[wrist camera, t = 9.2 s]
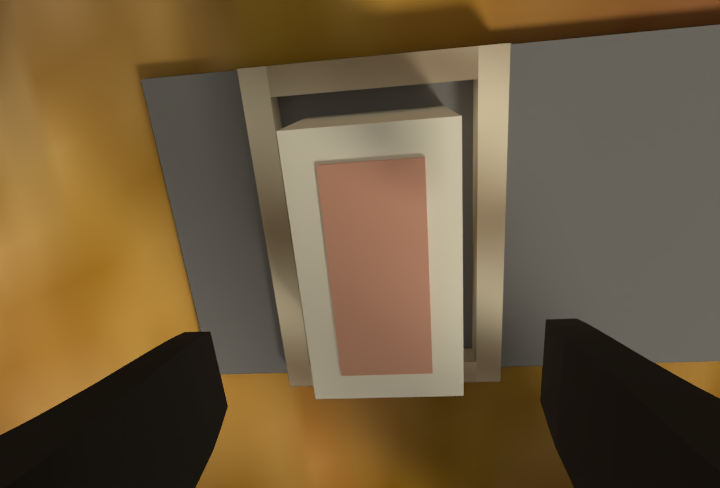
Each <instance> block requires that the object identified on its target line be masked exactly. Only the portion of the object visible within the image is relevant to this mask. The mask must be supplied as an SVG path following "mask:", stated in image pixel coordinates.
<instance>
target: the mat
mask: <svg viewBox="0 0 720 488" xmlns="http://www.w3.org/2000/svg"><path fill="white" fill-rule="evenodd" d="M141 83H142V87H143V91H144V95H145V100H146V104H147V108H148V112H149V116H150V120H151V125H152V129H153V133H154V137H155V141H156V146H157V150H158V154H159V158H160V162H161V166H162V171H163V175H164V179H165V183H166V187H167V192H168V196H169V200H170V204H171V208H172V213H173V217H174V221H175V225H176V229H177V233H178V238H179V242H180V246H181V250H182V254H183V259H184V263H185V267H186V271H187V275H188V279H189V284H190V288H191V292H192V296H193V300H194V305H195V309H196V313H197V317H198V321H199V325H200V330H201V332H208V331H210V332H211V336H212V340H213V345H214V349H215V353H216V358H217V362H218V366H219V371H220V374H251V373H288V371H287V365H286V359H285V353H284V347H283V341H282V335H281V329H280V323H279V317H278V311H277V305H276V299H275V293H274V287H273V281H272V275H271V269H270V263H269V257H268V251H267V245H266V239H265V233H264V227H263V221H262V215H261V209H260V203H259V197H258V191H257V185H256V179H255V173H254V168H253V162H252V156H251V150H250V144H249V138H248V132H247V126H246V120H245V114H244V108H243V102H242V96H241V90H240V84H239V78H238V72H237V70H234V71H224V72H213V73H203V74H192V75H182V76H171V77H161V78H150V79H141ZM278 103H279V110H280V117H281V124H282V128H284V127H286V126H289V125H291V124H293V123H295V122H298V121H300V120H302V119H304V118H307V117H319V116H330V115H342V114H354V113H366V112H378V111H390V110H401V109H413V108H425V107H437V106H445V107H447V108H449V109H450V110H452V111H454V112H456V113H458V114H459V115H461V116H462V213H463V349H464V348H472V280H473V80H462V81H450V82H439V83H428V84H416V85H405V86H394V87H382V88H371V89H359V90H348V91H337V92H325V93H314V94H303V95H291V96H280V97H278ZM571 318H577V319H579V320H581V321H583V322H585V323H587V324H589V325H591V326H593V327H594V328H596V329H598V330H600V331H601V332H603V333H605V334H606V335H608V336H610V337H611V338H613V339H615V340H616V341H618V342H620V343H621V344H623V345H625V346H627V347H628V348H630V349H632V350H633V351H635V352H637V353H638V354H640V355H642V356H643V357H645V358H647V359H648V360H650V361H652V362H654V363H663V362H700V361H720V24H719V25H709V26H698V27H688V28H677V29H667V30H656V31H646V32H635V33H625V34H614V35H604V36H593V37H582V38H572V39H561V40H551V41H540V42H530V43H519V44H511V46H510V80H509V113H508V146H507V180H506V213H505V246H504V280H503V313H502V346H501V367H513V366H543V353H544V338H545V324H546V319H571Z"/></svg>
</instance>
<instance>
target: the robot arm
mask: <svg viewBox="0 0 720 488" xmlns="http://www.w3.org/2000/svg"><path fill="white" fill-rule="evenodd" d="M540 401H541V405H542V408H543V411H544V414H545V417H546V420H547V424H548V427H549V430H550V433H551V436H552V438H553V441H554V444H555V447H556V449H557V451H558V454H559V456H560V458H561V460H562V462H563V465H564V467H565V469H566V471H567V473H568V475H569V477H570V479H571V482H572V484H573V486H574V488H720V399H719V398H717V397H715V396H713V395H712V394H710V393H708V392H706V391H704V390H702V389H700V388H698V387H696V386H694V385H693V384H691V383H689V382H687V381H685V380H684V379H682V378H680V377H678V376H676V375H675V374H673V373H671V372H669V371H668V370H666V369H664V368H662V367H661V366H659V365H657V364H655V363H654V362H652V361H650V360H648V359H647V358H645V357H643V356H642V355H640V354H638V353H637V352H635V351H633V350H632V349H630V348H628V347H627V346H625V345H623V344H621V343H620V342H618V341H616V340H615V339H613V338H611V337H610V336H608V335H606V334H605V333H603V332H601V331H600V330H598V329H596V328H594V327H593V326H591V325H589V324H587V323H585V322H583V321H581V320H579V319H577V318H571V319H546V324H545V338H544V353H543V368H542V383H541V398H540ZM227 407H228V406H227V401H226V397H225V393H224V388H223V384H222V380H221V375H220V371H219V366H218V362H217V358H216V353H215V349H214V345H213V340H212V336H211V332H210V331H208V332H184V333H182V334H180V335H178V336H175V337H174V338H172V339H170V340H168V341H166V342H164V343H162V344H161V345H159V346H157V347H155V348H154V349H152V350H150V351H149V352H147V353H145V354H144V355H142V356H140V357H139V358H137V359H135V360H134V361H132V362H130V363H129V364H127V365H125V366H124V367H122V368H120V369H119V370H117V371H115V372H114V373H112V374H110V375H109V376H107V377H105V378H104V379H102V380H100V381H99V382H97V383H95V384H94V385H92V386H90V387H88V388H87V389H85V390H83V391H81V392H79V393H78V394H76V395H74V396H72V397H71V398H69V399H67V400H65V401H64V402H62V403H60V404H58V405H56V406H55V407H53V408H51V409H49V410H48V411H46V412H44V413H42V414H40V415H39V416H37V417H35V418H33V419H31V420H29V421H27V422H25V423H23V424H21V425H19V426H18V427H16V428H14V429H12V430H10V431H8V432H6V433H4V434H2V435H0V488H195V487H196V485H197V483H198V481H199V479H200V477H201V475H202V473H203V471H204V469H205V466H206V464H207V462H208V460H209V458H210V456H211V454H212V452H213V449H214V446H215V444H216V441H217V438H218V435H219V432H220V429H221V426H222V423H223V420H224V417H225V413H226V410H227Z"/></svg>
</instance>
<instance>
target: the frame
mask: <svg viewBox="0 0 720 488" xmlns="http://www.w3.org/2000/svg"><path fill="white" fill-rule="evenodd" d="M510 46H511V43H503V44H493V45H482V46H472V47H461V48H450V49H440V50H429V51H419V52H408V53H398V54H387V55H377V56H366V57H356V58H345V59H335V60H324V61H314V62H303V63H293V64H282V65H272V66H261V67H251V68H240V69H237V72H238V78H239V84H240V90H241V96H242V102H243V108H244V114H245V120H246V126H247V132H248V138H249V144H250V150H251V156H252V162H253V168H254V173H255V179H256V185H257V191H258V197H259V203H260V209H261V215H262V221H263V227H264V233H265V239H266V245H267V251H268V257H269V263H270V269H271V275H272V281H273V287H274V293H275V299H276V305H277V311H278V317H279V323H280V329H281V335H282V341H283V347H284V353H285V359H286V365H287V371H288V376H289V382H290V386H314V384H313V378H312V371H311V364H310V357H309V350H308V344H307V337H306V330H305V323H304V316H303V310H302V303H301V296H300V289H299V282H298V276H297V269H296V262H295V255H294V248H293V242H292V235H291V228H290V221H289V214H288V208H287V201H286V194H285V187H284V180H283V174H282V167H281V160H280V153H279V146H278V140H277V133H276V131H277V130H280V129H282V124H281V117H280V110H279V103H278V97H280V96H291V95H303V94H314V93H325V92H337V91H348V90H359V89H371V88H382V87H394V86H405V85H416V84H428V83H439V82H450V81H462V80H473V280H472V348H464V349H463V372H464V382H500V380H501V346H502V313H503V280H504V246H505V213H506V180H507V146H508V113H509V80H510Z"/></svg>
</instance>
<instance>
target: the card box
mask: <svg viewBox="0 0 720 488" xmlns="http://www.w3.org/2000/svg"><path fill="white" fill-rule="evenodd" d="M276 133H277V140H278V146H279V153H280V160H281V167H282V174H283V180H284V187H285V194H286V201H287V208H288V214H289V221H290V228H291V235H292V242H293V248H294V255H295V262H296V269H297V276H298V282H299V289H300V296H301V303H302V310H303V316H304V323H305V330H306V337H307V344H308V350H309V357H310V364H311V371H312V378H313V384H314V391H315V398H316V399H344V398H390V397H436V396H464V372H463V213H462V116H461V115H459V114H458V113H456V112H454V111H452V110H450V109H449V108H447V107H445V106H437V107H425V108H413V109H401V110H390V111H378V112H366V113H354V114H342V115H330V116H319V117H307V118H304V119H302V120H300V121H298V122H295V123H293V124H291V125H289V126H286V127H284V128H282V129H280V130H277V131H276Z"/></svg>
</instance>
